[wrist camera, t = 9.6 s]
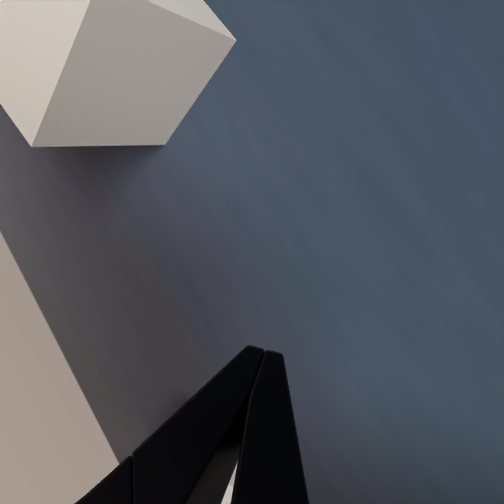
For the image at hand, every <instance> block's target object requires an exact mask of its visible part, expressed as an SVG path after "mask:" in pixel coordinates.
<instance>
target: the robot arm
mask: <svg viewBox="0 0 504 504" xmlns="http://www.w3.org/2000/svg"><path fill="white" fill-rule="evenodd" d="M236 464H237V468H236V474H235V480H234V486H233V492H232V498H231V504H309V500H308V494H307V488H306V482H305V477H304V471H303V465H302V460H301V454H300V448H299V442H298V437H297V431H296V425H295V420H294V414H293V408H292V402H291V397H290V391H289V385H288V380H287V374H286V368H285V362H284V357H283V355H282V354H281V353H278V352H274V351H270V350H266V351H264V349H262V348H259V347H255V346H251V345H249V346H246V347H245V348H244V349H243V350H242V351H241V352H240V353H239V354H237V355H236V356H235V357H234V358H233V359H232V360H231V361H230V362H229V363H228V364H227V365H226V366H225V367H224V368H222V369H221V370H220V371H219V372H218V373H217V374H216V375H215V376H214V377H213V378H212V379H211V380H210V381H209V382H207V383H206V384H205V385H204V386H203V387H202V388H201V389H200V390H199V391H198V392H197V393H196V394H195V395H194V396H192V397H191V398H190V399H189V400H188V401H187V402H186V403H185V404H184V405H183V406H182V407H181V408H180V409H179V410H177V411H176V412H175V413H174V414H173V415H172V416H171V417H170V418H169V419H168V420H167V421H166V422H165V423H164V424H162V425H161V426H160V427H159V428H158V429H157V430H156V431H155V432H154V433H153V434H152V435H151V436H150V437H149V438H147V439H146V440H145V441H144V442H143V443H142V444H141V445H140V446H139V447H138V448H137V449H136V450H135V451H134V452H133V453H132V457H131V456H128V457H127V458H126V459H125V460H124V461H123V462H122V463H120V464H119V465H118V467H116V468H115V469H114V470H113V471H112V472H111V473H110V474H109V475H108V476H106V477H105V478H104V479H103V480H102V481H101V482H100V483H98V484H97V485H96V486H95V487H94V488H93V489H92V490H91V491H90V492H88V493H87V494H86V495H85V496H84V497H82V498H81V499H80V500H79V501H77V502H76V503H75V504H221V503H222V500H223V498H224V495H225V492H226V490H227V487H228V485H229V482H230V480H231V477H232V475H233V472H234V469H235V467H236Z"/></svg>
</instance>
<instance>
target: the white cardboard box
mask: <svg viewBox="0 0 504 504" xmlns="http://www.w3.org/2000/svg"><path fill="white" fill-rule="evenodd" d="M236 41H237V40H236V39H235V38H234V37H233V36H232V34H231V33H230V32H229V31H228V30H227V28H226V27H225V26H224V25H223V24H222V22H221V21H220V20H219V19H218V18H217V16H216V15H215V14H214V13H213V12H212V10H211V9H210V8H209V7H208V5H207V4H206V3H205V2H204V1H203V0H0V104H1V105H2V107H3V108H4V109H5V111H6V112H7V114H8V115H9V116H10V118H11V119H12V121H13V122H14V123H15V125H16V126H17V128H18V129H19V130H20V132H21V133H22V135H23V136H24V137H25V139H26V140H27V142H28V143H29V145H30V146H31V147H62V146H124V145H165V144H166V142H167V141H168V140H169V138H170V137H171V135H172V134H173V132H174V131H175V129H176V128H177V126H178V125H179V124H180V122H181V121H182V119H183V118H184V116H185V115H186V113H187V112H188V110H189V109H190V108H191V106H192V105H193V103H194V102H195V100H196V99H197V97H198V96H199V94H200V93H201V92H202V90H203V89H204V87H205V86H206V84H207V83H208V81H209V80H210V78H211V77H212V76H213V74H214V73H215V71H216V70H217V68H218V67H219V65H220V64H221V62H222V61H223V59H224V58H225V57H226V55H227V54H228V52H229V51H230V49H231V48H232V46H233V45H234V43H235V42H236Z"/></svg>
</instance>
